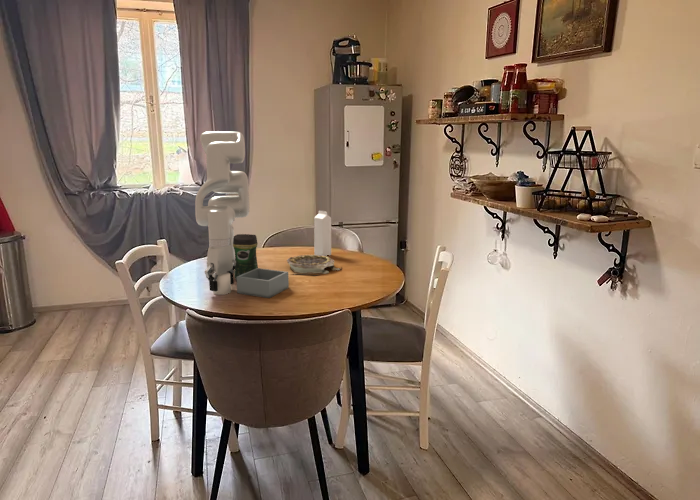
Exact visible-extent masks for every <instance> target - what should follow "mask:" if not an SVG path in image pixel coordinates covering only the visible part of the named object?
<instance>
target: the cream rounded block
mask: <svg viewBox="0 0 700 500" xmlns="http://www.w3.org/2000/svg"><path fill="white" fill-rule="evenodd" d="M213 277H214V275H213ZM216 281H217V285H218V291H212V292H213V293H212V294H214V295H218V296H223V295H224V296H225V295H229V294H231V293H232V287H231V286H232V284H231V281H230V273H228V272H225V273H222V274H220V275H218V276H217V279H216ZM228 293H229V294H228Z"/></svg>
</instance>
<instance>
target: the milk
mask: <svg viewBox="0 0 700 500" xmlns="http://www.w3.org/2000/svg"><path fill="white" fill-rule="evenodd" d="M313 222H314V223H313V224H314V225H313V227H314V228H313V230H314V231H313V232H314V233H313V239H314V240H313V242H314V243H313V244H314V246H313V247H314V249H313V251H314V254H313V255H326V256H327V255H329V256H332V217H331V216H330V215H329V214H328V211H325V210H318V214H316V215H315V216H314V219H313Z"/></svg>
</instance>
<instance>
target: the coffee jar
mask: <svg viewBox="0 0 700 500" xmlns="http://www.w3.org/2000/svg"><path fill="white" fill-rule="evenodd" d="M233 247H234V250H235V261H236V265H235V269H234V274H233V277H234V279H235V280H236V281H237V278H236V277H237V276H240V275H242V274H244V273H247V272H249V271H251V270H254V269H256V268H259V267H258V266H259V265H258V260H257V259H258V257H257V247H258V238H257V235H256V234H249V233H248V234H246V233H245V234H244V233H242V234H241V233H239V234H234V238H233Z"/></svg>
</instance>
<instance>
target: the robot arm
mask: <svg viewBox="0 0 700 500" xmlns="http://www.w3.org/2000/svg"><path fill="white" fill-rule="evenodd" d="M199 139H200V145H201V148H202V149H203V151H204V154H205V155H206V156H205V157H206V158H205V159H206V181H205V182H204V183H203V184H202V185H201V186H200V188H199V189H198V191H197V193H196V196H195V199H194V200H195V205H194V207H195V211H194V212H195V213H194V214H195V220H196V221H195V222H196V223H197V225H198V226H201V227H208V228H207V229H208V242H209V243H208V245H209V246H208V248H207V254H206V255H207V257H206V269H205V270H204V274H205V278H206V279H207V281H208V282H209V291H211V292H213V291H218V285H217V281H216V279H217V276H218V275H220V274H222V273H225V272H228V273H230V281H231V285H234V279H235V277H234V274H235V265H236V261H235V250H234V247H233V238H234V236H235V230H234V225H233V223H234V221H235V219H237V218H245V217H248V216H249V213H250V192H249V191H250V186H249V177H248V175H247V174H246V172H244V171H240V170H231V164H243V162H244V161H245V157H246V146H245V142H246V141H245V137H244V134H243V133H242V132H240V131H222V130H221V131H219V130H217V131H215V130H214V131H213V130H212V131H211V130H210V131H205V132H202V133H201V134H200V136H199ZM212 192H213V193H216V194H237V195H217V196H213V197H211V198H209V200H208V201H207V202H208V203H207V205H204V199H205V198H206V196H207V195H209V194H210V193H212ZM213 275H214V277H213Z"/></svg>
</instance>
